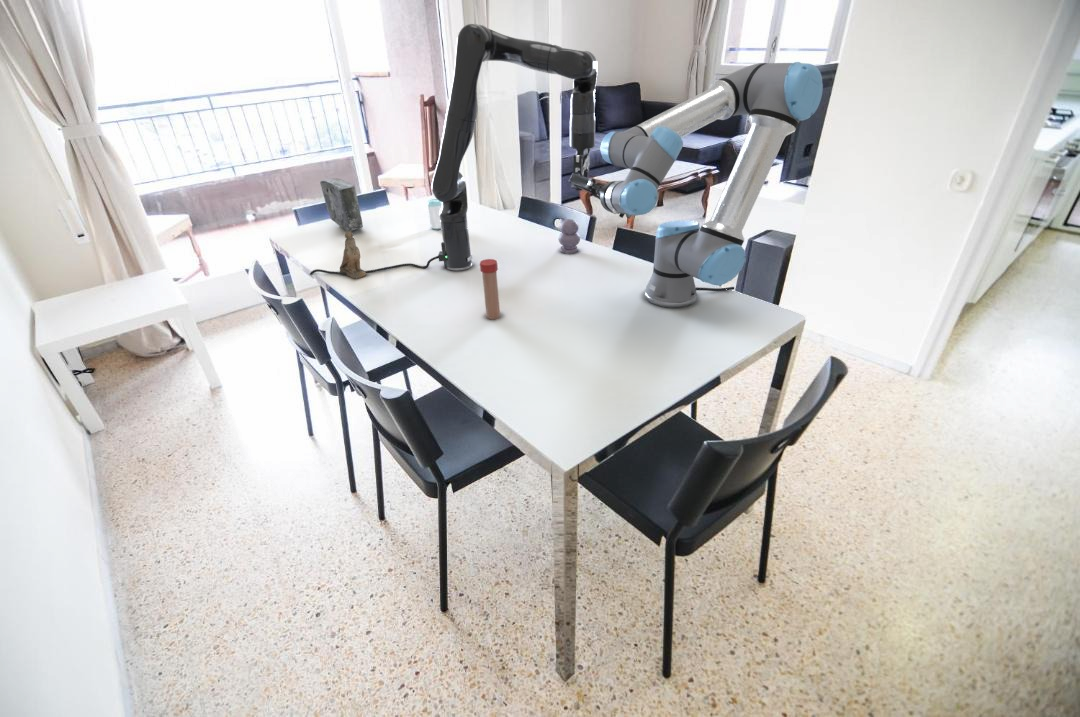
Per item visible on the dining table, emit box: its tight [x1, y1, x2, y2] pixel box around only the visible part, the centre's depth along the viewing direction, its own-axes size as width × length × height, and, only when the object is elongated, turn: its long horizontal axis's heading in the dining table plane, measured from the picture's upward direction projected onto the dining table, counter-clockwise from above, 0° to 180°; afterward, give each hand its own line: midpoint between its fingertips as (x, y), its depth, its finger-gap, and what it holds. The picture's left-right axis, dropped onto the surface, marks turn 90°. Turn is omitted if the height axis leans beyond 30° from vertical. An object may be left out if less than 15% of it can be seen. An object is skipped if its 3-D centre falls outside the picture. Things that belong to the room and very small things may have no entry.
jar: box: [481, 271, 501, 320], centre depth 141 cm, size 4×4×16 cm
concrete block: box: [319, 177, 364, 232], centre depth 222 cm, size 27×9×20 cm, turn 36°
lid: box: [479, 258, 499, 273], centre depth 137 cm, size 5×5×2 cm
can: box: [426, 198, 443, 230], centre depth 220 cm, size 7×7×12 cm
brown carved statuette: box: [339, 230, 367, 280], centre depth 174 cm, size 12×6×18 cm, turn 43°
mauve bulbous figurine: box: [558, 218, 581, 254], centre depth 188 cm, size 8×8×12 cm
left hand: (581, 186), depth 155 cm, fingers open, 8 cm apart
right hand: (593, 196), depth 141 cm, fingers open, 13 cm apart
